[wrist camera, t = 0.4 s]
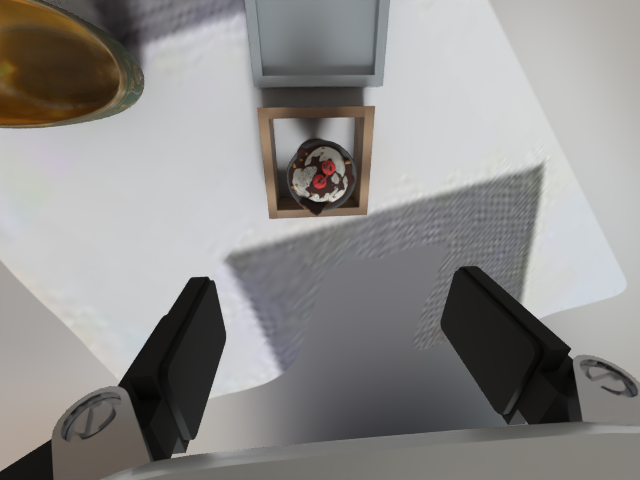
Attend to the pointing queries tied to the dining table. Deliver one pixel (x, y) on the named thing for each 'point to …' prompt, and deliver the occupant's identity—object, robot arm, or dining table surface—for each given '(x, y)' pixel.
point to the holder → (361, 158)
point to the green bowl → (60, 68)
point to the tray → (317, 42)
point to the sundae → (321, 176)
